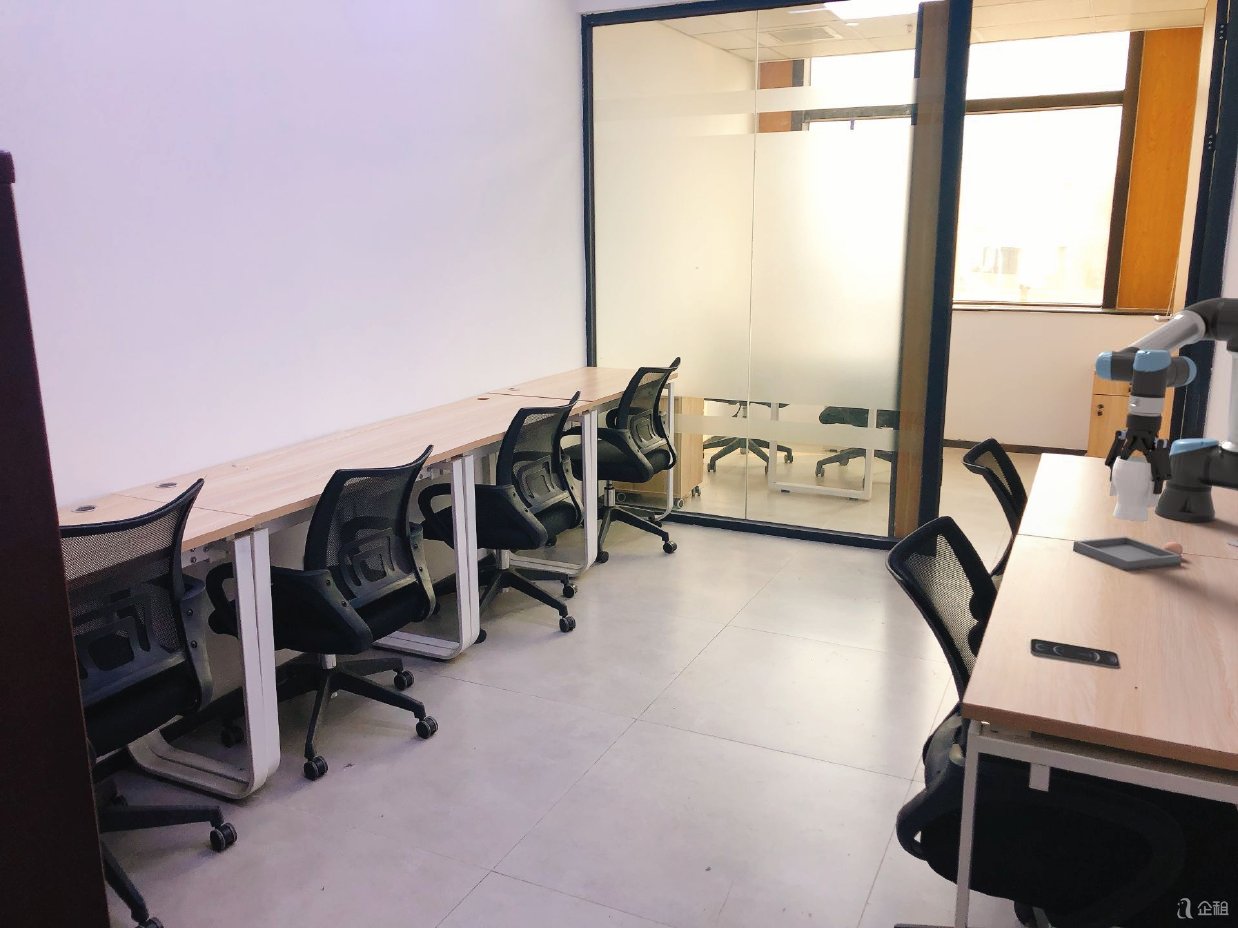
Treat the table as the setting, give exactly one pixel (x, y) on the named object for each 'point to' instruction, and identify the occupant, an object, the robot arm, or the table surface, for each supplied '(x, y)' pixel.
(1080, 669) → the table surface
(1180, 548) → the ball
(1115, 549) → the tray
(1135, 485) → the cup
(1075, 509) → the table surface
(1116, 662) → the smartphone
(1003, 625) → the table surface
